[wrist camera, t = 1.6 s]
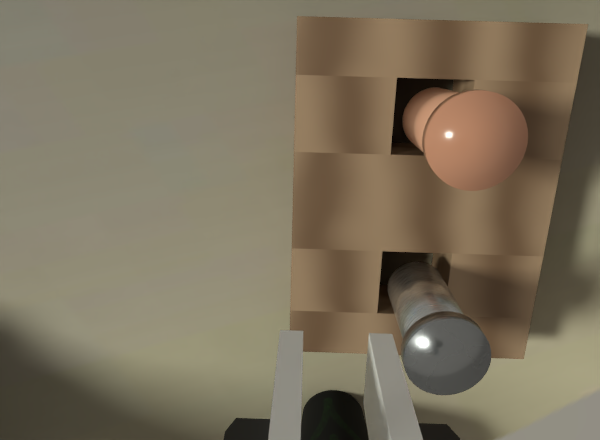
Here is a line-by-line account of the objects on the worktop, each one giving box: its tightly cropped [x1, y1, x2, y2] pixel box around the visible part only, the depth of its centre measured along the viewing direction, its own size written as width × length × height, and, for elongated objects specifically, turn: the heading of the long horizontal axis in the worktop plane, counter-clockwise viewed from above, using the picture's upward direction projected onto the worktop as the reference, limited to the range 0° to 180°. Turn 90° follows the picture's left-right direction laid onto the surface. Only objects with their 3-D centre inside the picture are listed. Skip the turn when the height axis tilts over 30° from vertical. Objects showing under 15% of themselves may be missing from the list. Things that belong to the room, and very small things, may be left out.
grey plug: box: [388, 262, 491, 395], centre depth 32 cm, size 5×5×9 cm
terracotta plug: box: [403, 87, 528, 191], centre depth 28 cm, size 5×5×9 cm
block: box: [290, 16, 588, 359], centre depth 37 cm, size 18×24×5 cm
